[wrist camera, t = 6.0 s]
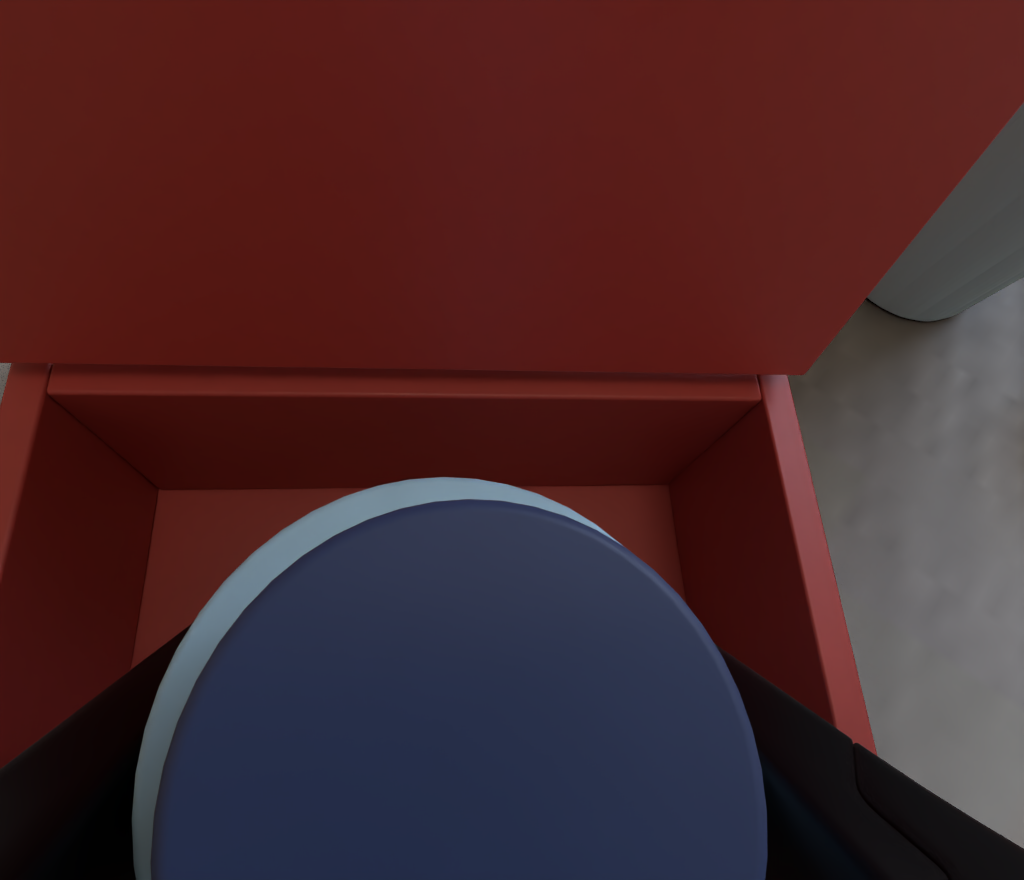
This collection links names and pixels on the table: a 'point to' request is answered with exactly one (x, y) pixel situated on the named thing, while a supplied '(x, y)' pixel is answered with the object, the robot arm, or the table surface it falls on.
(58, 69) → the cool box lid
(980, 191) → the cup
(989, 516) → the table surface
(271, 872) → the water bottle
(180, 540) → the cool box
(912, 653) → the table surface
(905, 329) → the table surface
